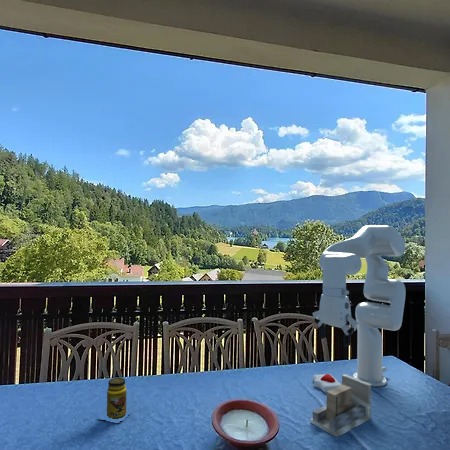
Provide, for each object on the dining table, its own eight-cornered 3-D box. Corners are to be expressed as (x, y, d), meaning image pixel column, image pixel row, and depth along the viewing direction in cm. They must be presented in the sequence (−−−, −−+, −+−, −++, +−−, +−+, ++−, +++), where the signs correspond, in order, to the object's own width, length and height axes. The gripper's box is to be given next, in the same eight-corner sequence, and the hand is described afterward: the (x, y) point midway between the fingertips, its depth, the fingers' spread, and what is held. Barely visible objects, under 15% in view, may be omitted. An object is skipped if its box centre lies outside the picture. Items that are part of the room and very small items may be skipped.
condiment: (119, 424, 114) (119, 386, 114) (96, 419, 117) (96, 382, 117) (131, 413, 121) (132, 377, 121) (110, 409, 124) (110, 373, 124)
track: (344, 406, 127) (344, 374, 127) (370, 418, 119) (371, 384, 119) (310, 422, 117) (310, 387, 117) (336, 437, 109) (337, 399, 109)
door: (343, 411, 121) (343, 384, 121) (351, 415, 119) (351, 387, 119) (326, 420, 116) (326, 391, 116) (334, 424, 113) (334, 395, 113)
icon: (307, 370, 149) (331, 369, 150) (307, 381, 149) (331, 379, 150) (320, 383, 137) (345, 381, 138) (319, 394, 137) (345, 393, 138)
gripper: (363, 294, 119) (363, 346, 119) (320, 286, 133) (320, 333, 133) (350, 297, 114) (350, 351, 115) (306, 289, 128) (306, 338, 128)
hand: (334, 342), depth 124 cm, fingers open, 9 cm apart
